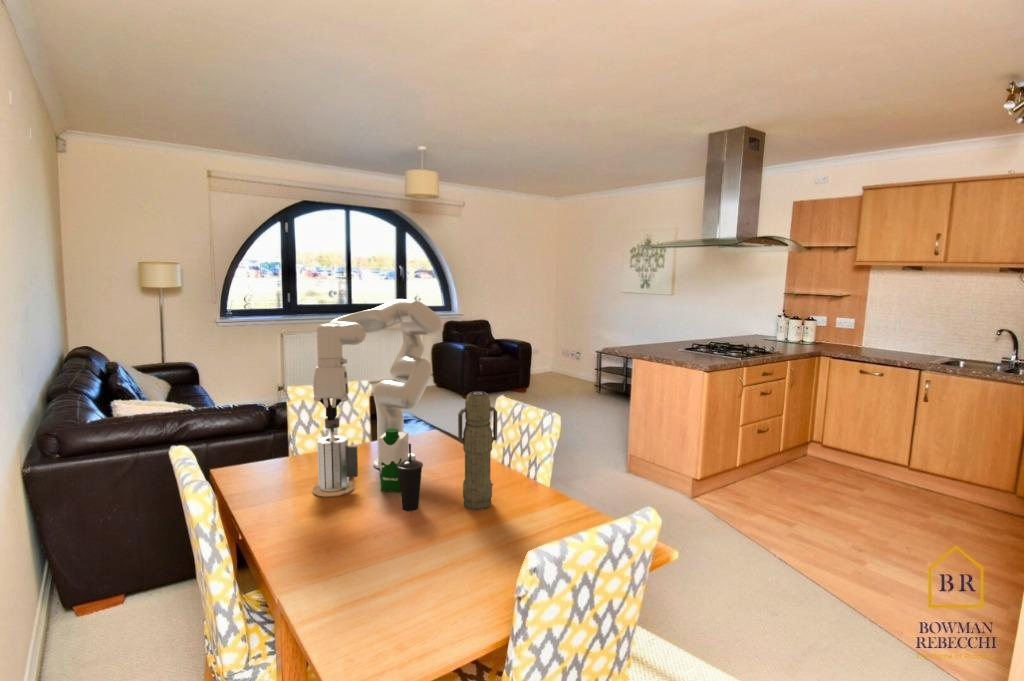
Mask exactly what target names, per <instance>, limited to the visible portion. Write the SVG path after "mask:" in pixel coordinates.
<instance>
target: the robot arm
mask: <svg viewBox="0 0 1024 681" xmlns="http://www.w3.org/2000/svg"><path fill="white" fill-rule="evenodd" d="M398 324H400V329H401V333H402V345H401V347H400V350H399V352H398V353H397V354H396V356H395V358H394V360H393V362H392V363H391V364H392V365H391V367H390V370H389V374H390V376H391V378H393V379H385V380H381V381H379V382H377V383H376V385H375V386H374V389H373V399H374V400H373V401H374V405H375V409H376V419H377V420H376V421H377V422H376V423H377V424H376V426H377V428H376V433H377V434H376V436H377V438H376V439H377V443H376V444H377V458H376V459H375V460H373V466H374V467H375V468H376V469H378V470H380V445H379V438H380V437H381V436H382V435H383V434H384V433H386V430H388V429H398V432H405V431H404V428H405V427H404V424H405V423H404V422H405V421H404V414H403V413H404V412H403V411H402V410H412V409H414V408H415V407H416V406H417V405H418V404H419V402H420V400H421V398H422V396H423V394H424V392H425V390H426V388H427V386H428V385H429V382H430V380H431V377H432V371H433V370H432V364H431V362H430V361H429V360H427V359H426V358H424V357H423V354H424V351H425V348H424V344H423V340H422V338H421V336H435V335H438V334H439V333H440V331H441V329H442V320H441V318H440V316H439V315H438V314H437V313H436V312H435V311H434V310H432V309H431V308H430V307H429V306H428V305H426V304H424V303H423V302H421V301H419V300H417V299H410V298H409V299H406V298H405V299H404V298H396V299H393V300H390V301H388V302H385V303H383V304H380V305H379V306H378V305H377V306H376V307H374V308H371V309H366V310H362V311H357V312H354V313H353V312H352V313H349V314H345V315H343V316H339V317H338V318H334V319H332V320H331V321H330V322H328V323H323V324H322V323H321V324H319V325H317V327H316V344H317V345H316V349H317V351H316V352H317V354H316V355H317V366H315V370H314V376H313V401H315V402H317V403H318V402H319V403H321V404H322V405H323V406H324V407H323V408H325V416H326V418H327V420H333V419H335V417H337V416H338V410H337V409H338V405H339V404H341V403H343V402H347V401H349V397H348V395H349V392H350V390H349V379H348V372H347V368H346V366H345V365H344V364H347V363H348V360H347V359H345V358H344V356H343V346H357V345H360V344H361V343H363V342H364V341H365V340H366V336H367V334H371V333H380V332H383V331H385V330H388V329H390V328H392V327H393V326H395V325H398ZM331 399H332V400H331ZM408 458H409V453H408ZM416 459H417V458H416V454H414V453H411V460H416Z"/></svg>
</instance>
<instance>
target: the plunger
mask: <svg viewBox="0 0 1024 681" xmlns="http://www.w3.org/2000/svg"><path fill="white" fill-rule="evenodd" d="M324 427H325V428H326V429H330V431H329V432H330V434H329V435H330V436H331V442H333V441H335V437H334V435H335V429H337V428H339V427H340V418H339V417H337V416H336V417H335V419H333V420H327V417H326V418H325V419H324Z"/></svg>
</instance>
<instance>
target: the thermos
mask: <svg viewBox="0 0 1024 681" xmlns="http://www.w3.org/2000/svg"><path fill="white" fill-rule="evenodd" d="M464 403H465V407H464V408H461V409H460V410H459V412H458V413H457V417H458V418H457V420H458V421H457V423H458V424H457V425H458V426H457V432H458V433H457V434H458V435H457V436H458V437H457V440H458V441H459V442H460V443H461V444H463V445H462V446H463V447H462V448H463V452H464V480H463V483H462V488H463V489H462V498H463V507H464V508H465V509H467V510H471V511H482V509H484V510H487V509H489V508H490V507H491V506H492V496H493V483H492V481H491V452H492V450H493V443H494V441H497V439H498V411H497V409H496V408H495V407H494V406H491V400H490V398H489V394H488V393H487V392H485V391H481V390H480V391H478V390H476V391H475V390H474V391H471V392H469V393H468V394H467V396H466V399H465V402H464ZM491 412H492V415H493V416H492V417H493V418H492V420H493V421H492V422H493V423H492V427H491V421H490V419H491ZM464 413H465V416H464V417H465V422H464V423H465V425H464V426H465V427H464V429H463V415H464ZM488 507H489V508H488ZM486 508H487V509H486Z"/></svg>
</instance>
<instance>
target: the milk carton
mask: <svg viewBox="0 0 1024 681" xmlns="http://www.w3.org/2000/svg"><path fill="white" fill-rule="evenodd" d="M409 434H410V432H408V431H404V432H398V429H388V430H386V433H384V434H383V435H382V436H381V437H380V438H379V445H380V469H379V474H380V475H379V479H380V491H381V492H394V493H395V492H396V493H397V492H398V493H401V491H400V482H399V473H398V468H397V464H398V463H400V462H403V461H405V460H409V458H408V454H409Z"/></svg>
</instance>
